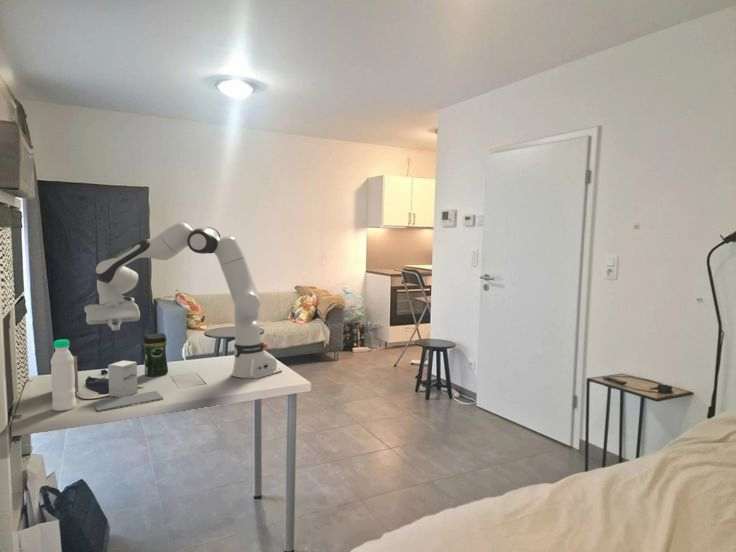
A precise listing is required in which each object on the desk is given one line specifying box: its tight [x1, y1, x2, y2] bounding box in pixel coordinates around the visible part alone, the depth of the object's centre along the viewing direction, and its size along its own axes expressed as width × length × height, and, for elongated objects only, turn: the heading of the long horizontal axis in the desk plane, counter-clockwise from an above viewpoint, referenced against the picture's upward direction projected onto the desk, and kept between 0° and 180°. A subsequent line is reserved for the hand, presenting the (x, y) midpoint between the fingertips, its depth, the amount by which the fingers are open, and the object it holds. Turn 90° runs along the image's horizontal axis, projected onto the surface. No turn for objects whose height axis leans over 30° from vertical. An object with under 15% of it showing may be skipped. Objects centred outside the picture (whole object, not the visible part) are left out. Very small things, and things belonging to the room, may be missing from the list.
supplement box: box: [107, 360, 138, 398], centre depth 184 cm, size 7×7×13 cm
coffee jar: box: [143, 332, 169, 377], centre depth 211 cm, size 10×8×19 cm
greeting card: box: [72, 355, 79, 394], centre depth 185 cm, size 11×7×15 cm, turn 42°
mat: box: [92, 390, 164, 413], centre depth 177 cm, size 22×10×1 cm, turn 128°
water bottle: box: [50, 338, 77, 412], centre depth 168 cm, size 7×7×25 cm
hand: (116, 329), depth 196 cm, fingers closed
